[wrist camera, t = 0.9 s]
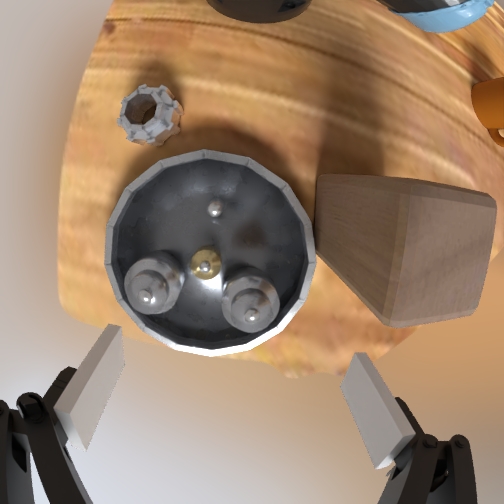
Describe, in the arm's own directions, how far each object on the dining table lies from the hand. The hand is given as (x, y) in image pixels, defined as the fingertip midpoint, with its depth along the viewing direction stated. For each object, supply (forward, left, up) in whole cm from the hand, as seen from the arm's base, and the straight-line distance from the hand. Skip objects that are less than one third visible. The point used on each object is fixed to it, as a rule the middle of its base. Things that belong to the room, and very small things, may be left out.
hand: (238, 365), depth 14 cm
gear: (-15, -13, -21) cm, 29 cm away
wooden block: (-8, +13, -22) cm, 27 cm away
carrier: (+1, -3, -21) cm, 22 cm away
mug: (-33, +37, -22) cm, 54 cm away
